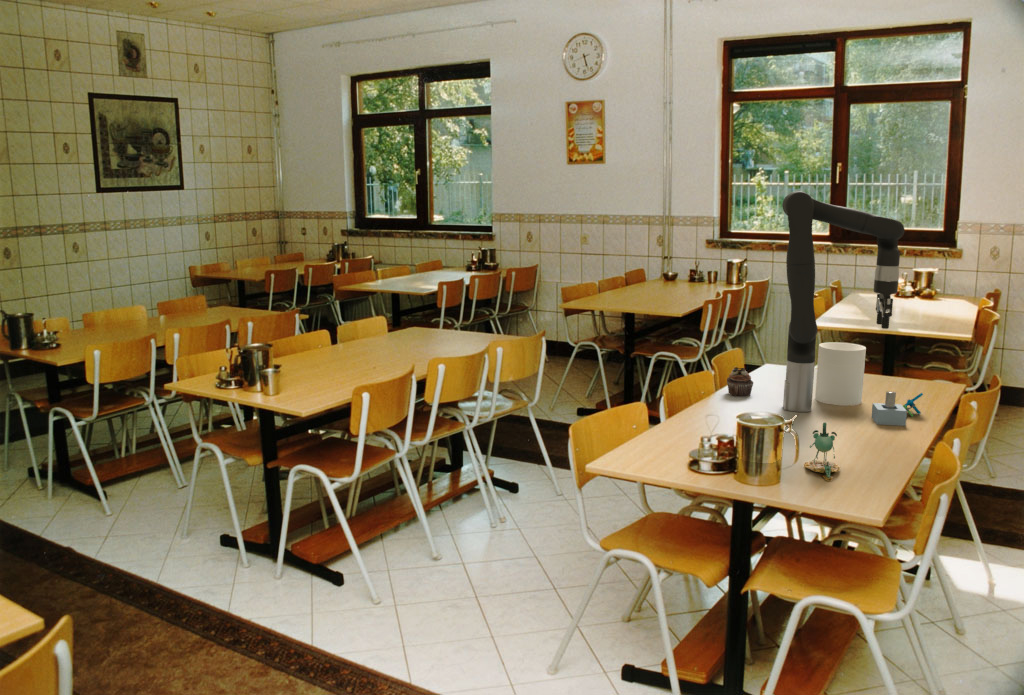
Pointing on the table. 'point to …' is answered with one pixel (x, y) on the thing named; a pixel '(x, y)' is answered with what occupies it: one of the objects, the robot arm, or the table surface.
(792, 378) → the robot arm
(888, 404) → the pin
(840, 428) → the table surface
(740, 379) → the cupcake
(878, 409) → the socket block
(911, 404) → the teal lobed toy
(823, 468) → the frog figurine
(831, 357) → the canister
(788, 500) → the table surface
